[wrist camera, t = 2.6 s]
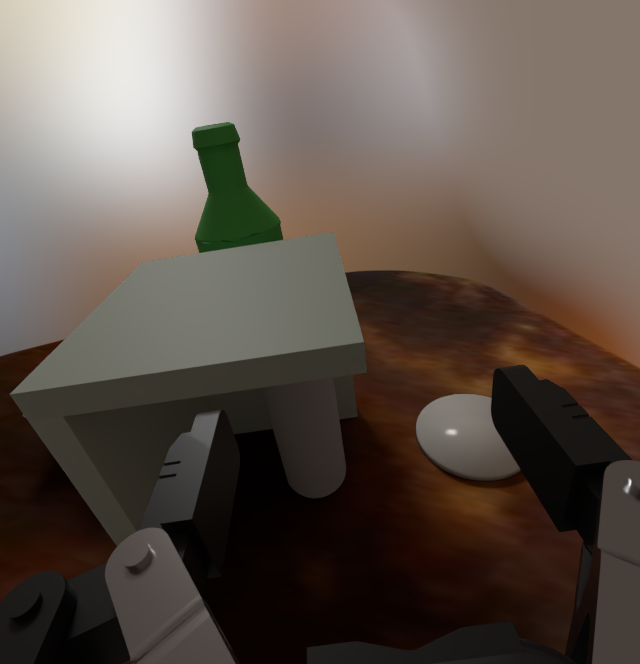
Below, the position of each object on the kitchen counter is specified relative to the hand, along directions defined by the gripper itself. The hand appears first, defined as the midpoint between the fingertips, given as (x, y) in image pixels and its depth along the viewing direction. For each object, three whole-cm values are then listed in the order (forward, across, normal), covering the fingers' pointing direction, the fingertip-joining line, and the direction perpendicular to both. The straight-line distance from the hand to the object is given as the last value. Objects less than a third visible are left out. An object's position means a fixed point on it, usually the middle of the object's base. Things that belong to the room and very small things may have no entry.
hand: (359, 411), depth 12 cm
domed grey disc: (+14, -10, +17) cm, 24 cm away
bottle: (+31, +8, +17) cm, 37 cm away
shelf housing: (+12, +7, +17) cm, 22 cm away
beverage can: (+12, +3, +17) cm, 21 cm away
